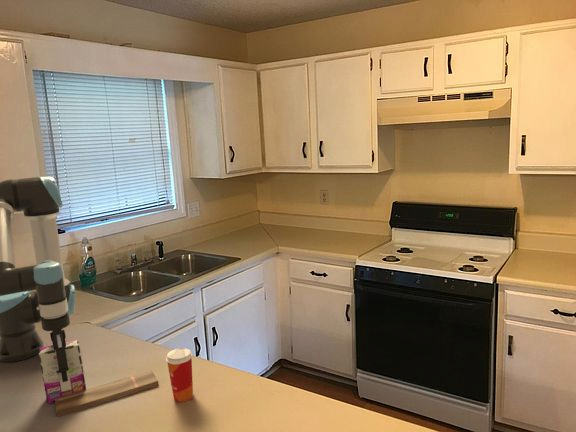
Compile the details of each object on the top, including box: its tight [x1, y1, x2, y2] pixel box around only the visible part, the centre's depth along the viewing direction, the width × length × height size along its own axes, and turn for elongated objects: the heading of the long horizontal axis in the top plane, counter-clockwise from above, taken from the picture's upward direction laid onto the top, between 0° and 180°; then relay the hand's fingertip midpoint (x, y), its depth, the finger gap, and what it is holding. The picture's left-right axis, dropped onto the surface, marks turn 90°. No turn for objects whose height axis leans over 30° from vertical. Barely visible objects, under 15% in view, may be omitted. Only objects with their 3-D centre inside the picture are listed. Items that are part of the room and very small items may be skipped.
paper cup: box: [165, 347, 194, 403], centre depth 139 cm, size 8×8×14 cm
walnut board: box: [54, 370, 160, 418], centre depth 144 cm, size 8×29×2 cm, turn 120°
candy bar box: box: [38, 339, 87, 405], centre depth 144 cm, size 11×5×16 cm, turn 115°
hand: (65, 385), depth 144 cm, fingers closed on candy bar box, 5 cm apart
